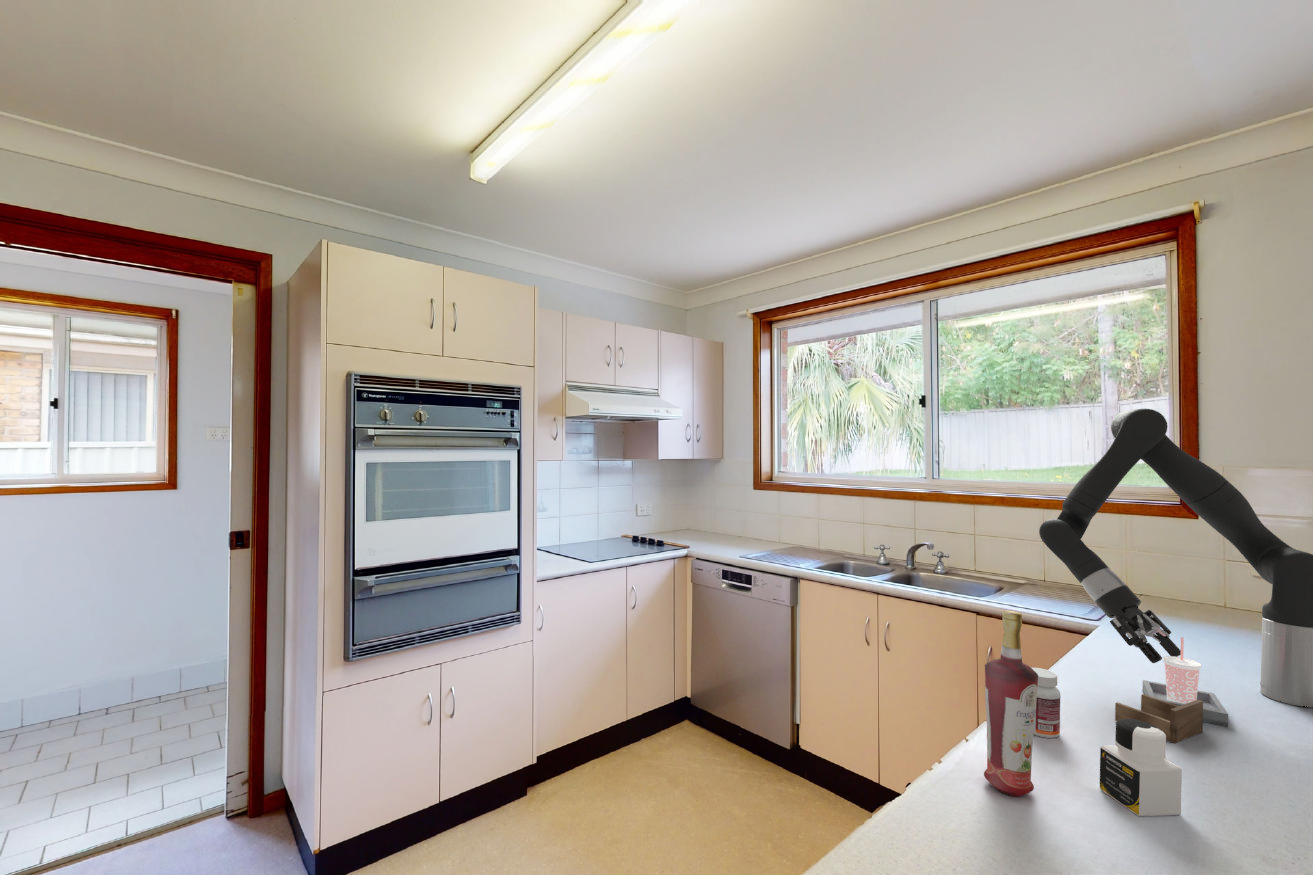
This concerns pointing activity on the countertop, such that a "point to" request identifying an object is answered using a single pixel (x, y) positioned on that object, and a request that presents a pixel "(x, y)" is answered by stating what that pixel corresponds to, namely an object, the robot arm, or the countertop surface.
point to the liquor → (1010, 713)
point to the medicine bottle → (1140, 770)
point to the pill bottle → (1047, 705)
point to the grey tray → (1211, 704)
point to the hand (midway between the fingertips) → (1168, 658)
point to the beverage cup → (1181, 677)
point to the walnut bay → (1166, 716)
